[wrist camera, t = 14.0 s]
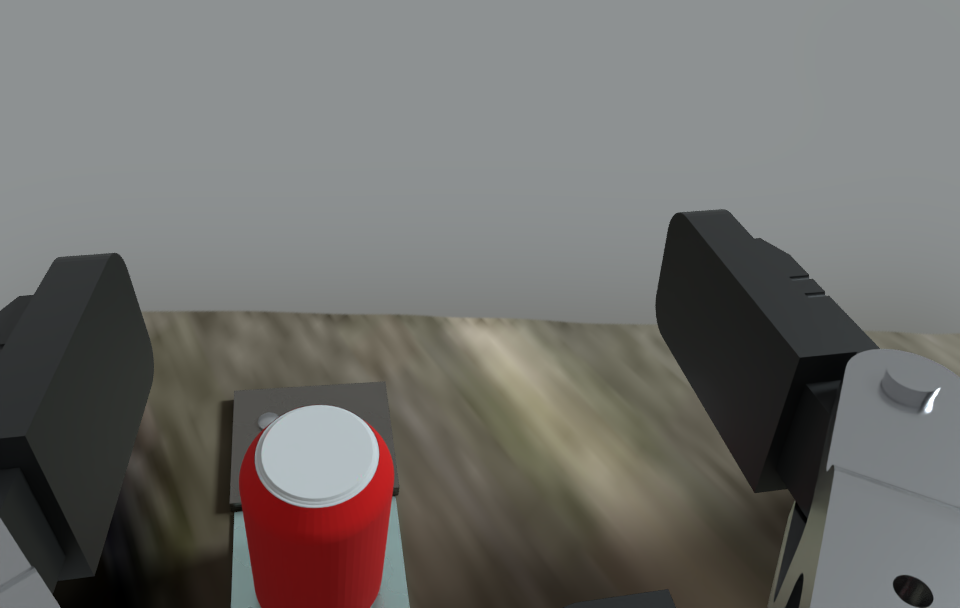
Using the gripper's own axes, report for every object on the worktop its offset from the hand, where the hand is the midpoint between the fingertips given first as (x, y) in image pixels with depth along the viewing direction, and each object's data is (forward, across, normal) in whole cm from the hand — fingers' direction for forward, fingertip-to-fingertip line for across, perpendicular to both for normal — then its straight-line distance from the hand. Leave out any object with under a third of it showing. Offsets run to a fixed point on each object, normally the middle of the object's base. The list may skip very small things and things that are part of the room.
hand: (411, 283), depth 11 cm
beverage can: (+14, +5, +27) cm, 31 cm away
